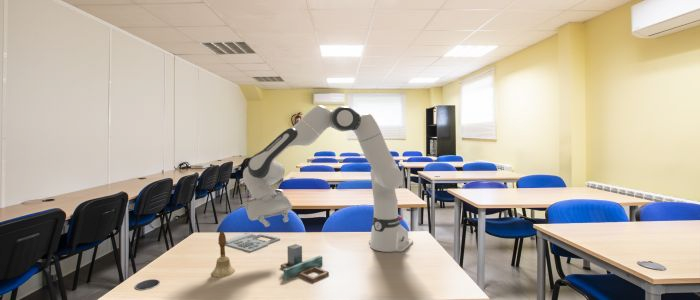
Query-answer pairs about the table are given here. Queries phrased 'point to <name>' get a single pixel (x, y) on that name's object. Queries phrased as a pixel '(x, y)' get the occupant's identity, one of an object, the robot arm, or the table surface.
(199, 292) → the table surface
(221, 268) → the hand bell
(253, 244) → the office telephone
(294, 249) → the gray block
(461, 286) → the table surface
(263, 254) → the table surface
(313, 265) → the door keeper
